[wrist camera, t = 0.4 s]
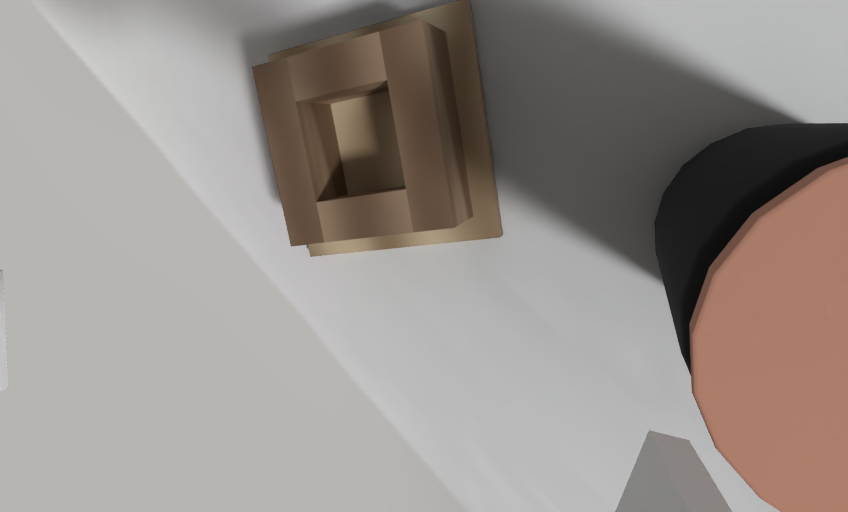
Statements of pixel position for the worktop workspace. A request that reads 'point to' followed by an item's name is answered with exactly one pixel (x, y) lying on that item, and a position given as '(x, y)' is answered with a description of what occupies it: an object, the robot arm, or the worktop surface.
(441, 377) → the worktop surface
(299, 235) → the socket block
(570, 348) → the worktop surface
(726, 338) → the coffee jar
